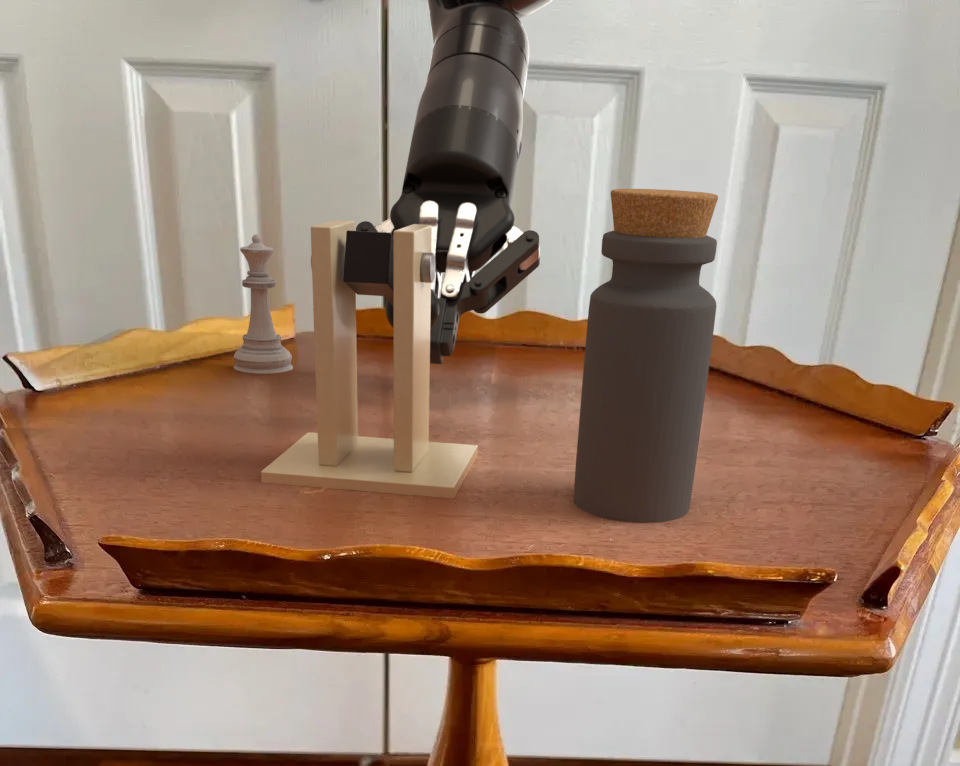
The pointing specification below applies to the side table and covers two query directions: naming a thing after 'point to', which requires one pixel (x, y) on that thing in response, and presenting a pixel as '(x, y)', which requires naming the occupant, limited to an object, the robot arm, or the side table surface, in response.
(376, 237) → the lever
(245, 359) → the chess piece
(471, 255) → the robot arm
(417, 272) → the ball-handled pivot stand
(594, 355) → the bottle
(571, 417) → the side table surface
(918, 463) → the side table surface
